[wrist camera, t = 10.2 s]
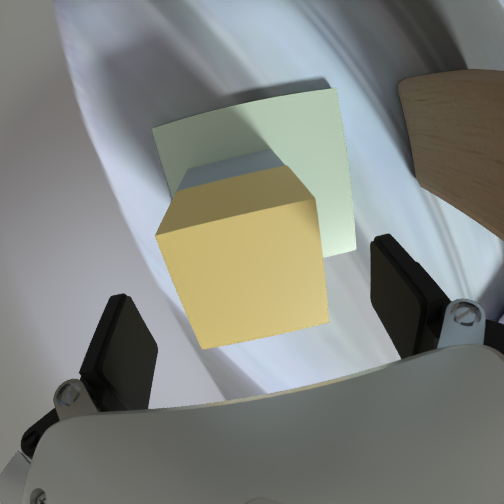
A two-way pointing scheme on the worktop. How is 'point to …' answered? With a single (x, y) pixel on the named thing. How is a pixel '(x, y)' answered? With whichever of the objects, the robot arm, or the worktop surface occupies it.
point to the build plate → (284, 146)
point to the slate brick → (230, 168)
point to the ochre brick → (246, 257)
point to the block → (459, 140)
